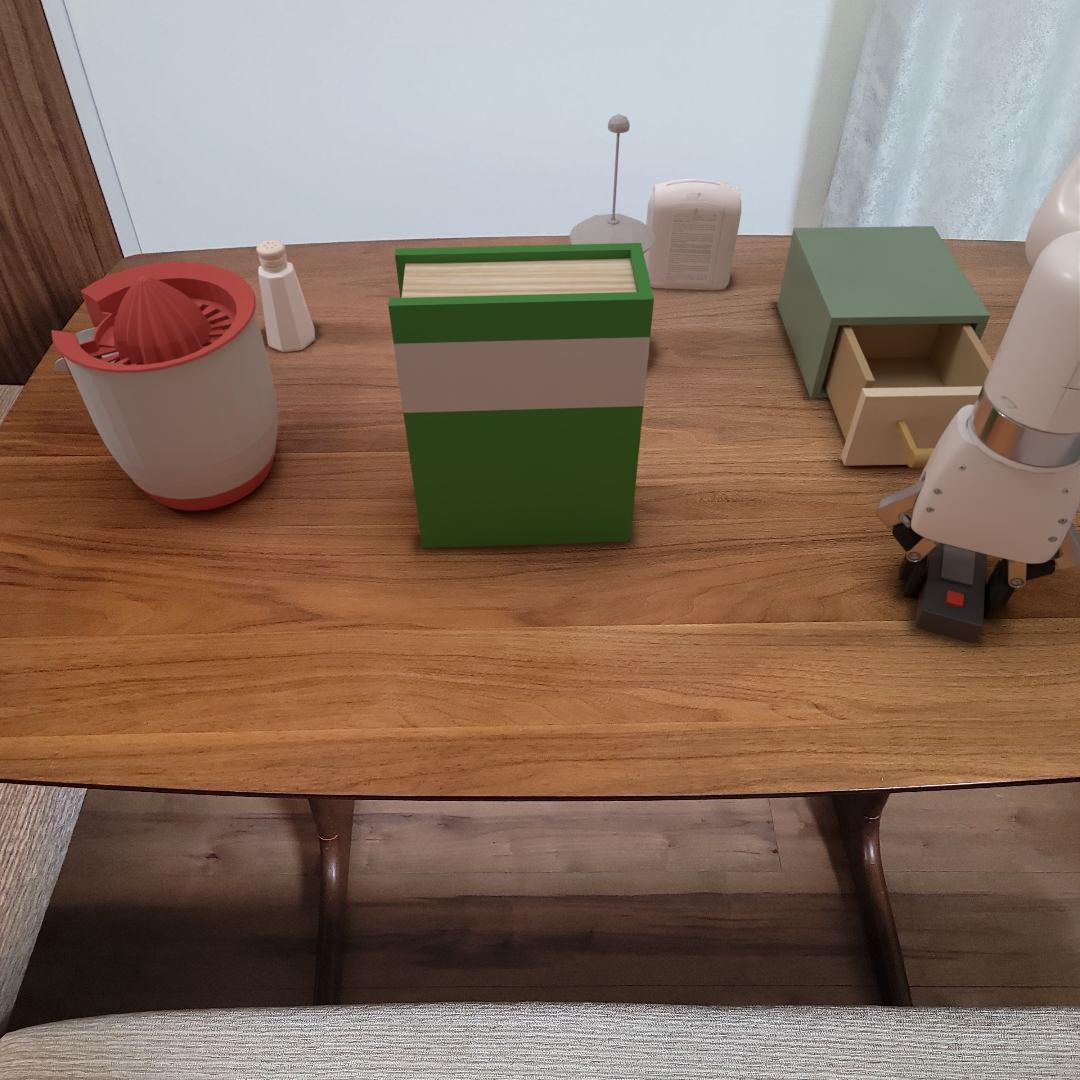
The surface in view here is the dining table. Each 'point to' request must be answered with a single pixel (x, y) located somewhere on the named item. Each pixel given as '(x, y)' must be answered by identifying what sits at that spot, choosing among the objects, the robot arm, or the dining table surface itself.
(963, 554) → the remote
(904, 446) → the drawer
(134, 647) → the dining table surface
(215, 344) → the citrus juicer
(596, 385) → the hardback book
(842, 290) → the cabinet
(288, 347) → the salt shaker
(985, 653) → the dining table surface
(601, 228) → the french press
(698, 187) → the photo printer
